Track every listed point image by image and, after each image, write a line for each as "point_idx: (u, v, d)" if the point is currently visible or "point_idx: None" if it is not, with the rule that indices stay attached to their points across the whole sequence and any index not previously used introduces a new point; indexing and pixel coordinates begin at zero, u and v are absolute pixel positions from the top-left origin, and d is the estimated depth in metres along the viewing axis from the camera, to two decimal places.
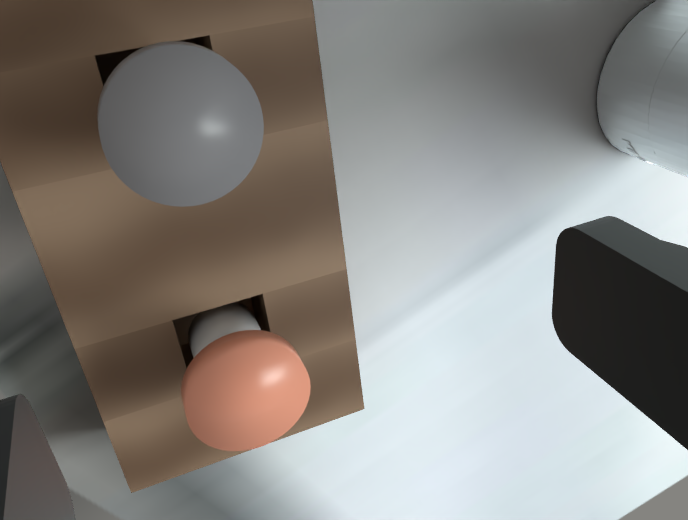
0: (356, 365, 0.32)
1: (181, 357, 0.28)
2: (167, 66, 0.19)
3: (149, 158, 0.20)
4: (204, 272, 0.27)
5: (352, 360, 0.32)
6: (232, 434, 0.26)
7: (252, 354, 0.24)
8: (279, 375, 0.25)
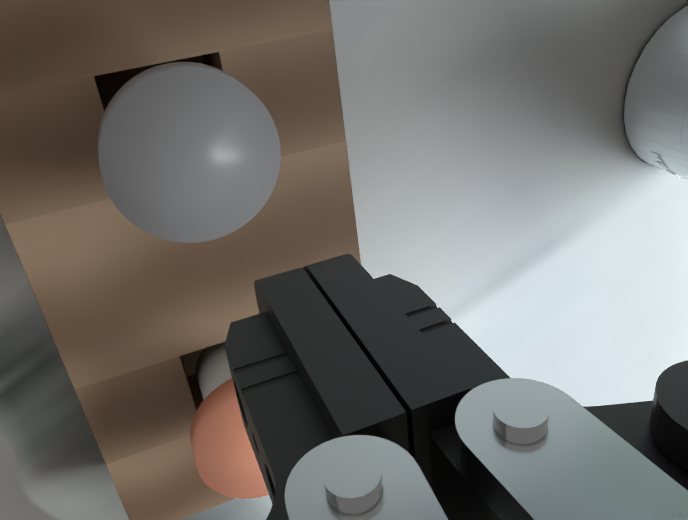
0: None
1: (189, 394, 0.26)
2: (175, 91, 0.17)
3: (155, 191, 0.18)
4: (214, 305, 0.25)
5: None
6: (245, 481, 0.24)
7: None
8: None
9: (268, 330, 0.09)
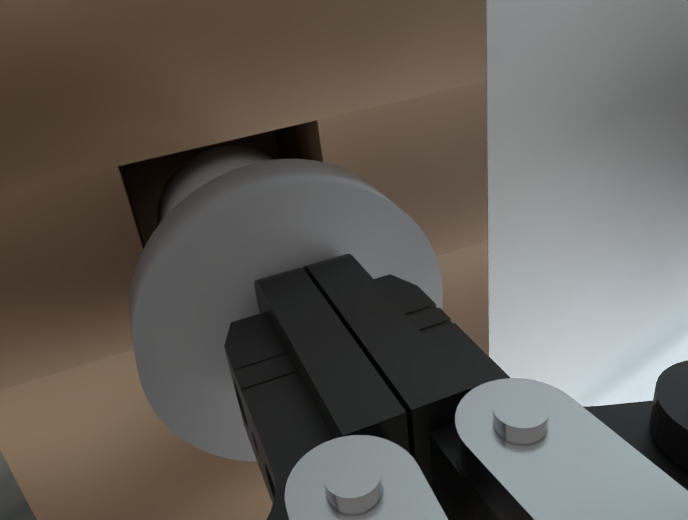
0: None
1: None
2: (277, 223, 0.09)
3: (232, 390, 0.10)
4: None
5: None
6: None
7: None
8: None
9: (268, 330, 0.09)
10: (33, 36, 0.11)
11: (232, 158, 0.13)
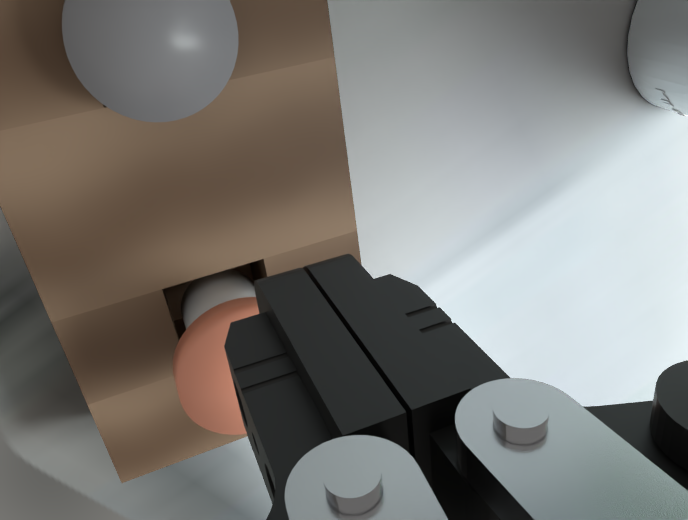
0: None
1: (173, 331, 0.25)
2: None
3: (117, 67, 0.19)
4: (197, 234, 0.24)
5: None
6: (231, 415, 0.23)
7: None
8: None
9: (268, 330, 0.09)
10: None
11: None
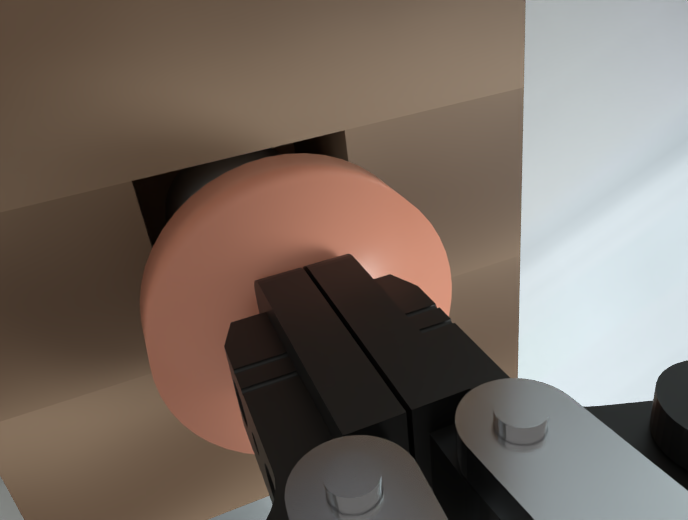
0: (514, 311, 0.16)
1: None
2: None
3: None
4: (210, 56, 0.11)
5: (508, 300, 0.16)
6: None
7: (323, 201, 0.09)
8: (384, 266, 0.10)
9: (268, 330, 0.09)
10: None
11: None
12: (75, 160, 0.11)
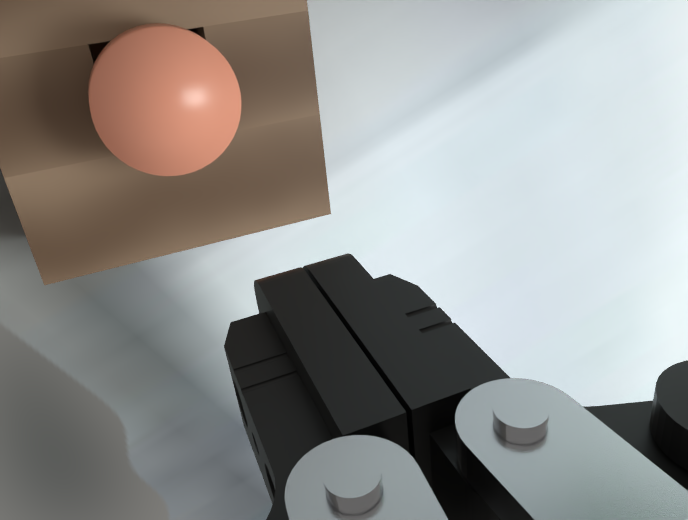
0: (321, 151, 0.27)
1: None
2: None
3: None
4: None
5: (316, 143, 0.27)
6: (148, 150, 0.22)
7: (169, 40, 0.21)
8: (203, 77, 0.22)
9: (268, 330, 0.09)
10: None
11: None
12: (59, 30, 0.21)
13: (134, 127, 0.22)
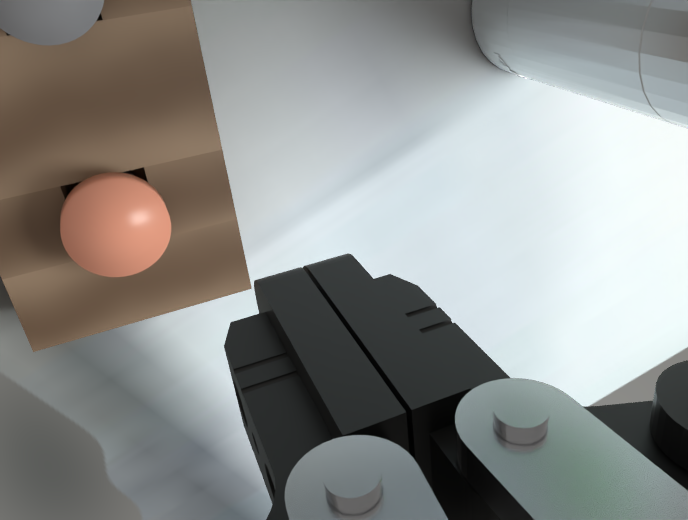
0: (240, 244, 0.36)
1: None
2: None
3: (11, 1, 0.26)
4: (87, 142, 0.30)
5: (235, 239, 0.36)
6: (104, 260, 0.31)
7: (115, 187, 0.30)
8: (141, 209, 0.31)
9: (268, 330, 0.09)
10: None
11: None
12: (39, 179, 0.30)
13: (93, 246, 0.30)
